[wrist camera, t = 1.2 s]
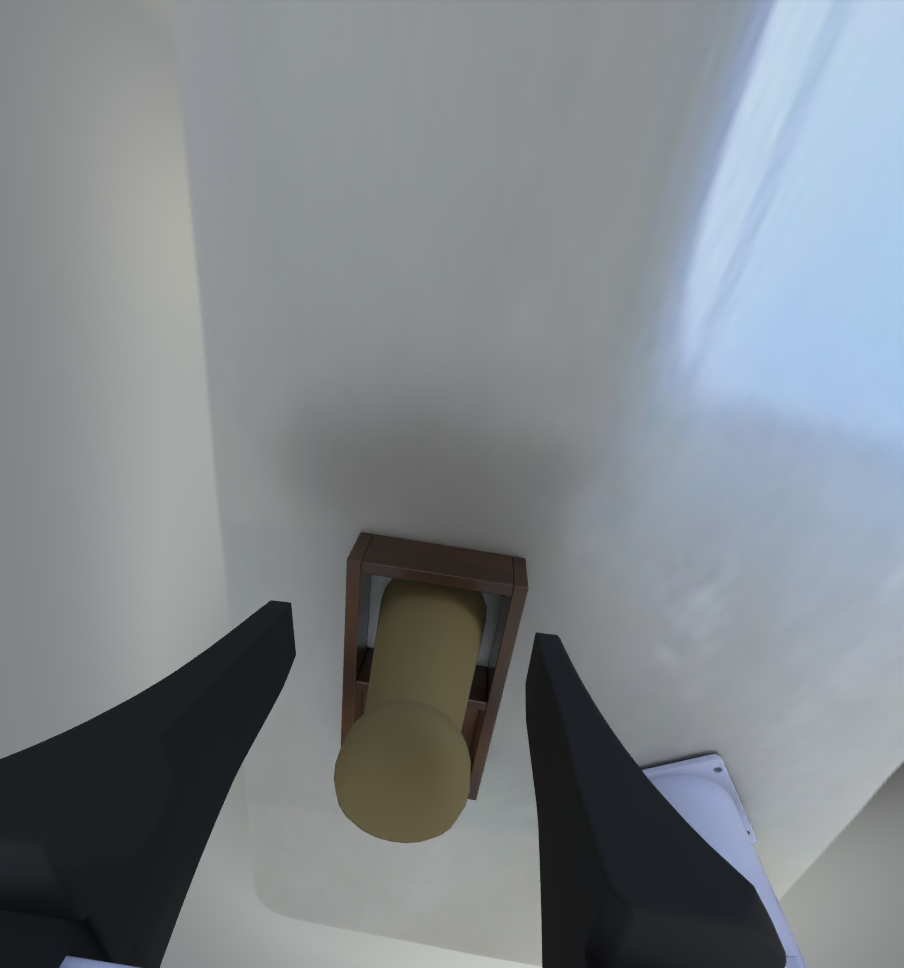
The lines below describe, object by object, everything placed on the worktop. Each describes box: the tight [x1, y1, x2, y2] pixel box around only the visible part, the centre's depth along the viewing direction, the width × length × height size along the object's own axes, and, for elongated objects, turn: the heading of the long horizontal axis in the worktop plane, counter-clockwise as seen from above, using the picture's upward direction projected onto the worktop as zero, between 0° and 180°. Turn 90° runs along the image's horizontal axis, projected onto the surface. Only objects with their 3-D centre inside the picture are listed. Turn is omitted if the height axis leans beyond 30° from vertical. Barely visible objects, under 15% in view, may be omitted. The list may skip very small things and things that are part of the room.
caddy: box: [341, 533, 528, 800], centre depth 27 cm, size 17×9×2 cm, turn 173°
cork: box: [334, 578, 487, 843], centre depth 21 cm, size 6×6×11 cm
